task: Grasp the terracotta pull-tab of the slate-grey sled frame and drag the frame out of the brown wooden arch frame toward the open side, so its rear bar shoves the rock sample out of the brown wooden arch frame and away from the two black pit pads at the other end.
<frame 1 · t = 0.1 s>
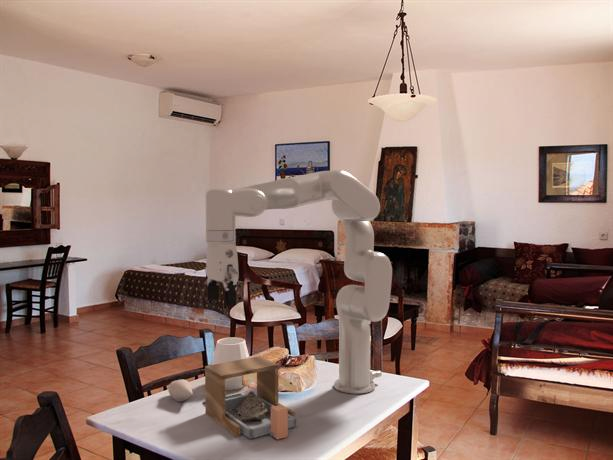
hand: (221, 303, 142), 31 cm above the table, fingers open, 9 cm apart
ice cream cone: (183, 402, 158), on the table
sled: (257, 408, 143), point 4 cm above the table, slide at 0.0 cm
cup: (231, 385, 172), on the table
rock sample: (250, 419, 146), on the table
brown wooden arch frame: (242, 412, 150), on the table
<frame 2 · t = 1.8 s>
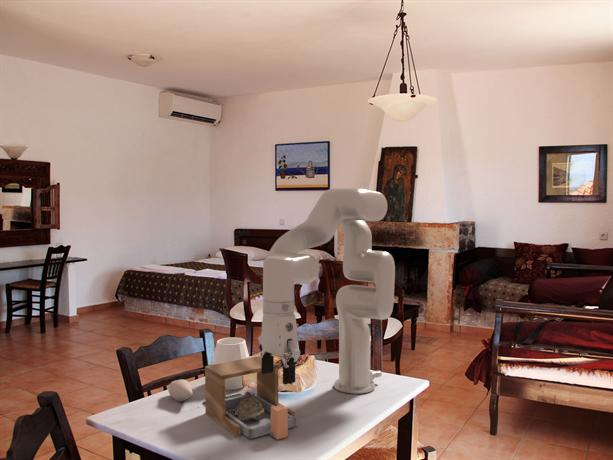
hand: (277, 377, 133), 15 cm above the table, fingers open, 9 cm apart
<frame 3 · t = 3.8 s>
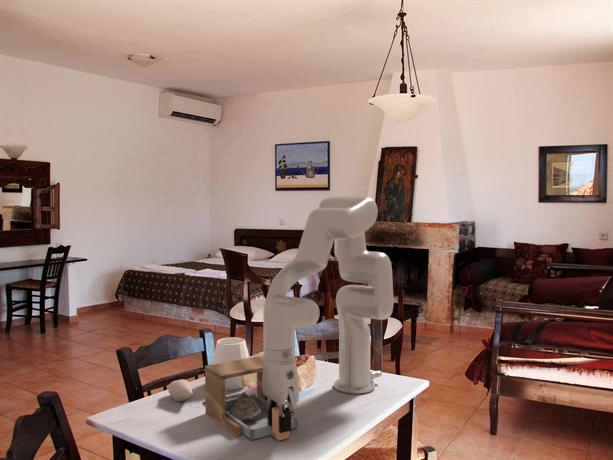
hand: (279, 427, 134), 2 cm above the table, fingers closed on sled, 4 cm apart
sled: (259, 409, 142), point 4 cm above the table, slide at 0.7 cm, touching gripper, rock sample
rock sample: (243, 421, 145), on the table, touching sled
everything else where it was.
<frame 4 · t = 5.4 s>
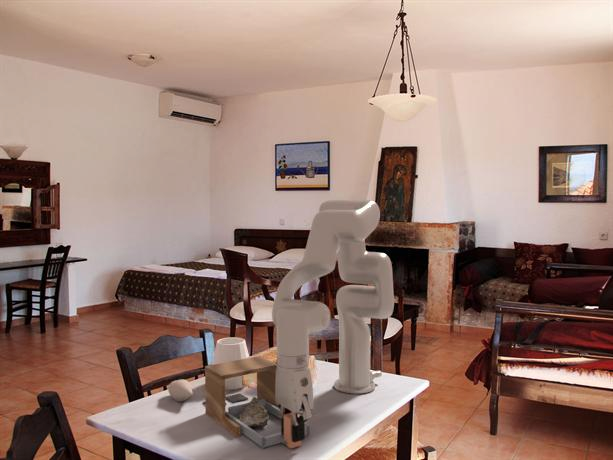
hand: (292, 436, 129), 2 cm above the table, fingers open, 3 cm apart
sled: (269, 415, 138), point 4 cm above the table, slide at 5.9 cm, touching gripper, rock sample
rock sample: (252, 426, 141), on the table, touching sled
everything else where it was.
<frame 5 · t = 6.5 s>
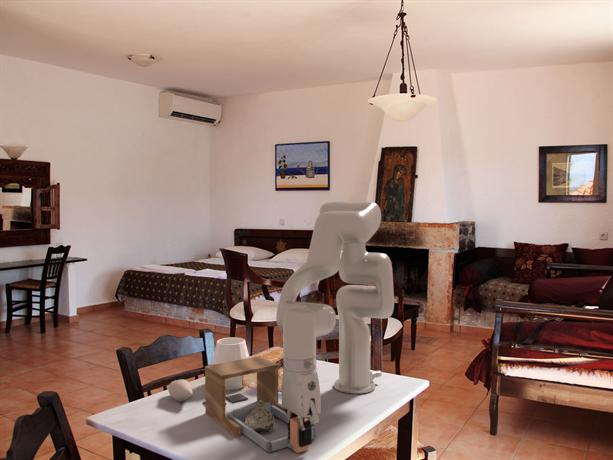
hand: (299, 441, 127), 2 cm above the table, fingers open, 3 cm apart
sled: (275, 419, 136), point 4 cm above the table, slide at 8.6 cm, touching gripper
rock sample: (257, 430, 139), on the table
everything else where it was.
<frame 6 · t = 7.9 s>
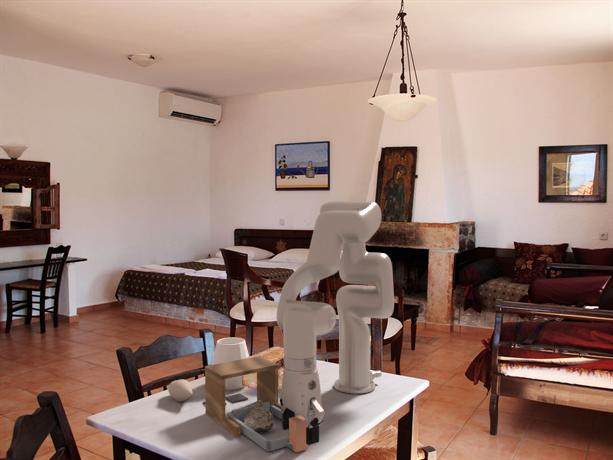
hand: (300, 435, 127), 4 cm above the table, fingers open, 9 cm apart
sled: (274, 418, 136), point 4 cm above the table, slide at 8.2 cm
everything else where it was.
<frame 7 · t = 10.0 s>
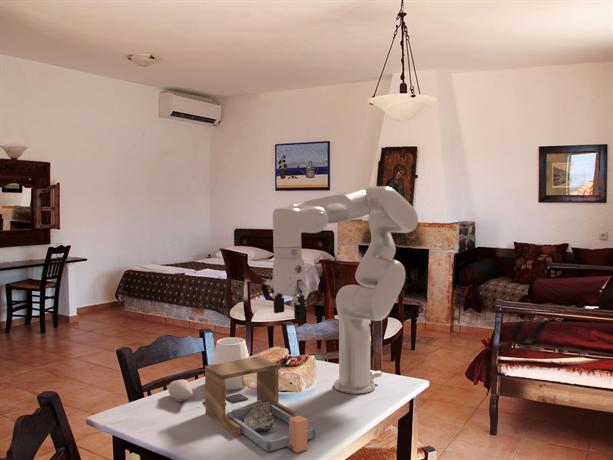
hand: (289, 315, 150), 26 cm above the table, fingers open, 9 cm apart
nothing on the table moved.
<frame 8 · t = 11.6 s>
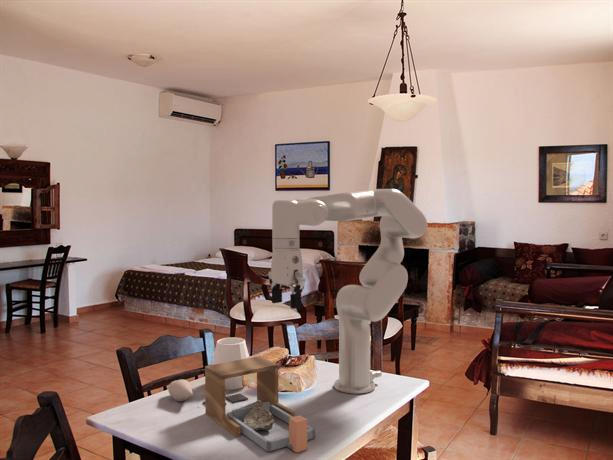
hand: (286, 305, 154), 28 cm above the table, fingers open, 9 cm apart
nothing on the table moved.
at the end: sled slide at 8.3 cm; rock sample inside the target area (4.9 cm from its centre), on the table; rock sample moved 6.9 cm from its start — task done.
